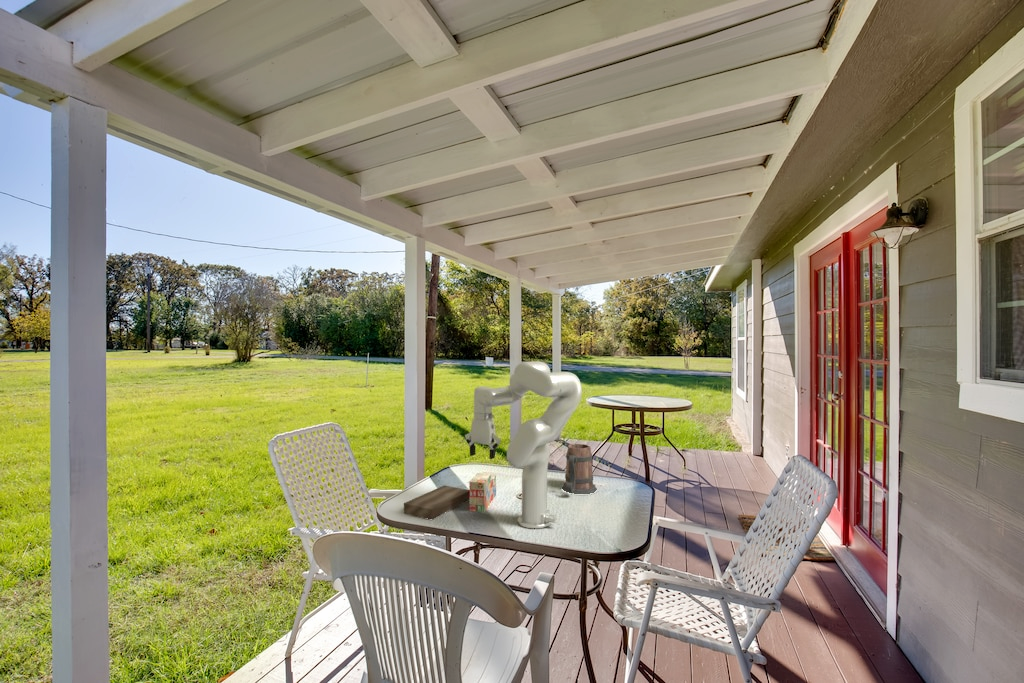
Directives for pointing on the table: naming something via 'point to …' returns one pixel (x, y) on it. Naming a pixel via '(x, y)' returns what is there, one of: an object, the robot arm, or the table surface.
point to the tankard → (579, 470)
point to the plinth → (436, 502)
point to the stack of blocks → (481, 491)
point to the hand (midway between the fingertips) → (482, 456)
